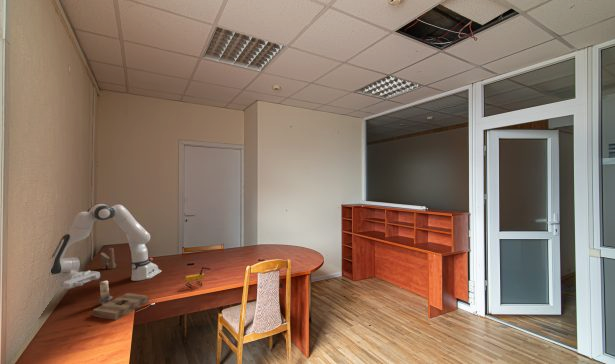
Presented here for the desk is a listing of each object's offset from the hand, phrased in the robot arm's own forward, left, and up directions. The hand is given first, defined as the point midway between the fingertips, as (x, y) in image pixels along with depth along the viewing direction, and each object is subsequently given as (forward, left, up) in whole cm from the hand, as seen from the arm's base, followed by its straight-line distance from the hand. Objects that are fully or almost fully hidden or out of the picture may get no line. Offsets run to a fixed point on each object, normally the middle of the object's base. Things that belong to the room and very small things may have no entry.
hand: (90, 280), depth 181 cm
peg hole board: (+2, +29, -14) cm, 33 cm away
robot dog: (-37, +54, -14) cm, 67 cm away
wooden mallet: (-50, -54, -14) cm, 75 cm away
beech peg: (0, +12, -14) cm, 19 cm away
